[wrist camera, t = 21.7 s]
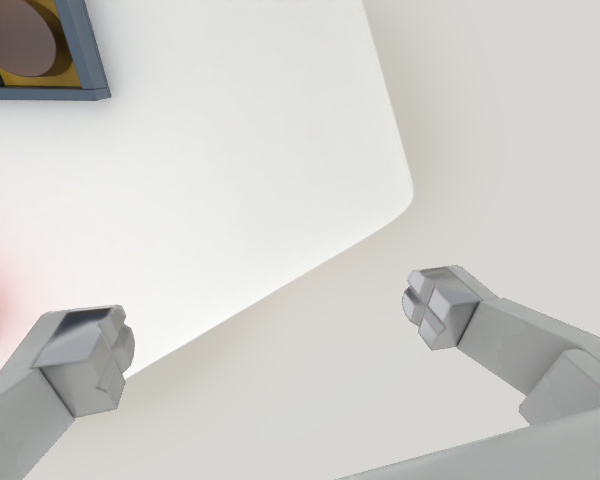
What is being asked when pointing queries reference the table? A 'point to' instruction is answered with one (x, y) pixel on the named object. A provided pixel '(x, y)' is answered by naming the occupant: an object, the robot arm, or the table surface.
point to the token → (32, 40)
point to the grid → (81, 74)
